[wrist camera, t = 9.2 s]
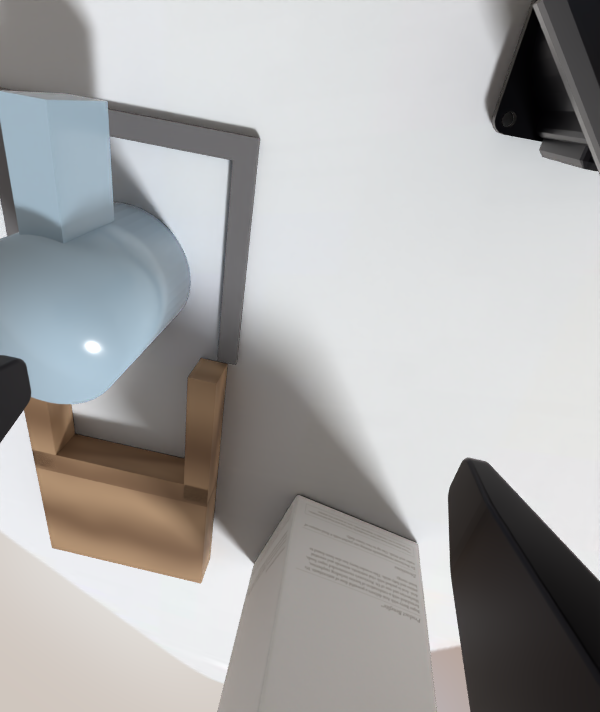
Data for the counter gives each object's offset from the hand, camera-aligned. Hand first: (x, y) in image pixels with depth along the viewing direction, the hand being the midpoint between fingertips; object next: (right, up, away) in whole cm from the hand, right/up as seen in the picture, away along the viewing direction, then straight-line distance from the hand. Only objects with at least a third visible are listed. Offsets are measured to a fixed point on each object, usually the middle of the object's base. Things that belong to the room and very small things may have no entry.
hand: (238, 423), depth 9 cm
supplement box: (+3, -12, +22) cm, 25 cm away
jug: (-7, +8, +12) cm, 16 cm away
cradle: (-9, -5, +20) cm, 22 cm away
